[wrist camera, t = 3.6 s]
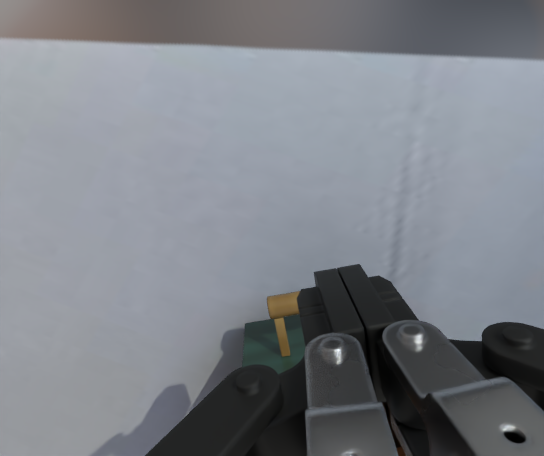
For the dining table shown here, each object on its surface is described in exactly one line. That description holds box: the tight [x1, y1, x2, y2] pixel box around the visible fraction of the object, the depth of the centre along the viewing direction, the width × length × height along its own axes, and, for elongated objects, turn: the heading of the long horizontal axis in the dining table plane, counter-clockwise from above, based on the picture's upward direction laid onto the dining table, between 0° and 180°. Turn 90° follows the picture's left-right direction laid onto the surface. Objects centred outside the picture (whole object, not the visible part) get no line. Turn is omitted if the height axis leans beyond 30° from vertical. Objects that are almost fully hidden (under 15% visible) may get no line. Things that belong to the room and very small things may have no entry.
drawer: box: [242, 291, 401, 448], centre depth 27 cm, size 17×11×7 cm
